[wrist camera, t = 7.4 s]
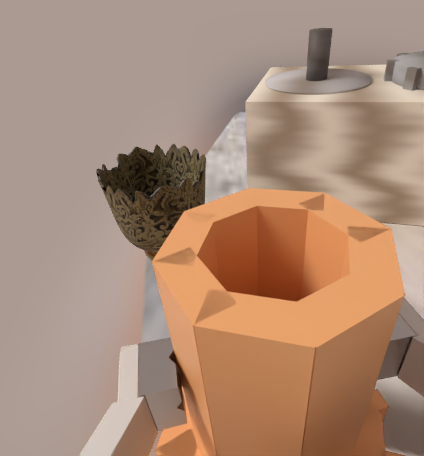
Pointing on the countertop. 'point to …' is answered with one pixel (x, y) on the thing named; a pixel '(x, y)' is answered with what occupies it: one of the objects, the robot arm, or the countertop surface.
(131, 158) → the cup
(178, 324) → the orange gear
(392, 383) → the countertop surface
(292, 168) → the gearbox
